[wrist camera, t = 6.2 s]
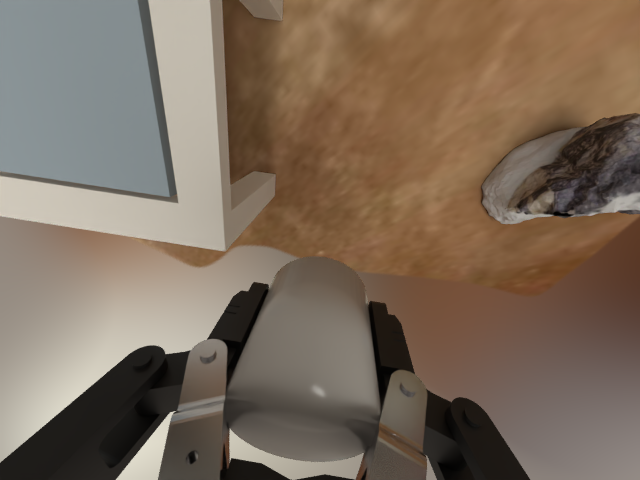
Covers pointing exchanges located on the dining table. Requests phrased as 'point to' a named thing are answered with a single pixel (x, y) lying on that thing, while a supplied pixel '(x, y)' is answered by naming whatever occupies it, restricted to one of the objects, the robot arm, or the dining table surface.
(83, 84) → the trapdoor
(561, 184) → the stone
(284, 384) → the white rounded cylinder
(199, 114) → the stand
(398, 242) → the dining table surface
